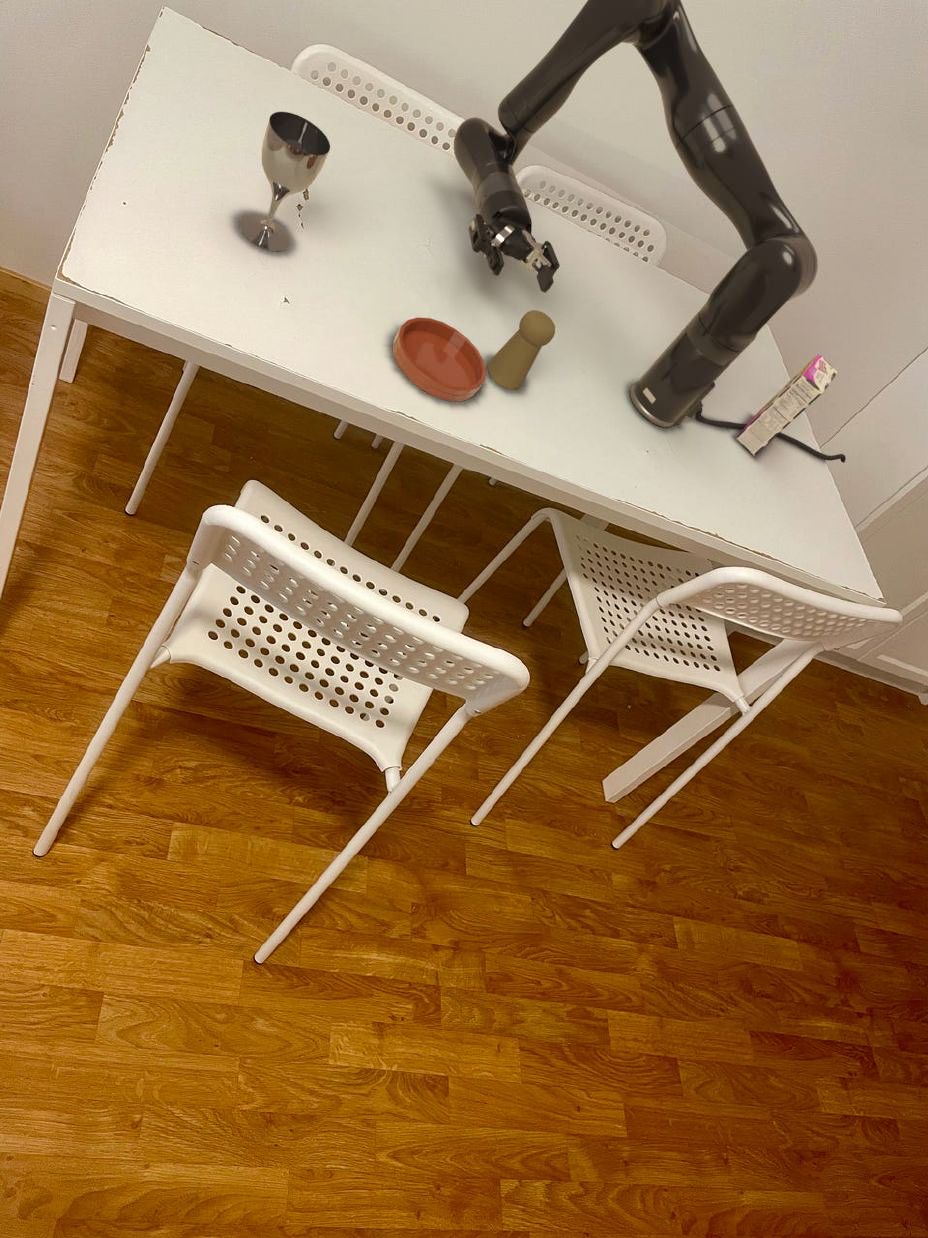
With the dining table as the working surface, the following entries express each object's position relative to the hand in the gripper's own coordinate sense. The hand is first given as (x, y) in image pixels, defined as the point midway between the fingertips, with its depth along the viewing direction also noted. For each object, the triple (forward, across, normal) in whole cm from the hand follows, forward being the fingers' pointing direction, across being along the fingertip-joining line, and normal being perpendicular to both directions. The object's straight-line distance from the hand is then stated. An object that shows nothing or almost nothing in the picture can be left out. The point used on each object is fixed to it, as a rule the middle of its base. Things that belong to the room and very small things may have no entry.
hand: (523, 278), depth 126 cm
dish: (+13, -12, +9) cm, 20 cm away
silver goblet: (-4, -36, +9) cm, 37 cm away
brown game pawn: (+10, 0, +10) cm, 14 cm away
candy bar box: (+8, +54, +10) cm, 55 cm away
